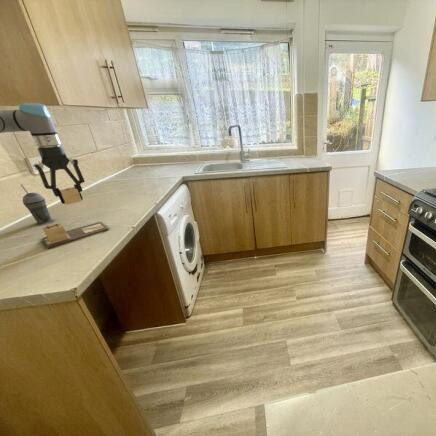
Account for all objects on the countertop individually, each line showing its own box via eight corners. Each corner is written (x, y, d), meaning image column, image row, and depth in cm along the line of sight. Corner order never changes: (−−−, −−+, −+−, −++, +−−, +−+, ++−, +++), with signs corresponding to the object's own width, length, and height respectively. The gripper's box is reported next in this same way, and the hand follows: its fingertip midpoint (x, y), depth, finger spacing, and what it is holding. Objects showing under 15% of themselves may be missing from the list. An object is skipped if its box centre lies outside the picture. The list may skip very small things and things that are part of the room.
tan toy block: (47, 239, 99) (41, 226, 97) (65, 234, 103) (59, 222, 101) (50, 243, 96) (44, 230, 94) (68, 237, 100) (62, 225, 98)
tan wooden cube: (63, 202, 106) (57, 189, 104) (78, 198, 110) (73, 186, 108) (66, 204, 103) (60, 192, 101) (82, 201, 107) (77, 188, 105)
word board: (43, 240, 101) (41, 238, 100) (100, 224, 115) (99, 221, 115) (48, 249, 94) (47, 246, 93) (108, 231, 108) (107, 228, 108)
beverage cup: (56, 223, 117) (36, 183, 108) (36, 228, 112) (13, 187, 104) (55, 219, 121) (35, 180, 113) (35, 224, 117) (13, 184, 108)
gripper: (18, 150, 88) (46, 209, 98) (80, 144, 101) (100, 196, 111) (15, 148, 93) (42, 205, 102) (76, 143, 106) (94, 194, 115)
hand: (72, 200), depth 106 cm, fingers closed on tan wooden cube, 5 cm apart
